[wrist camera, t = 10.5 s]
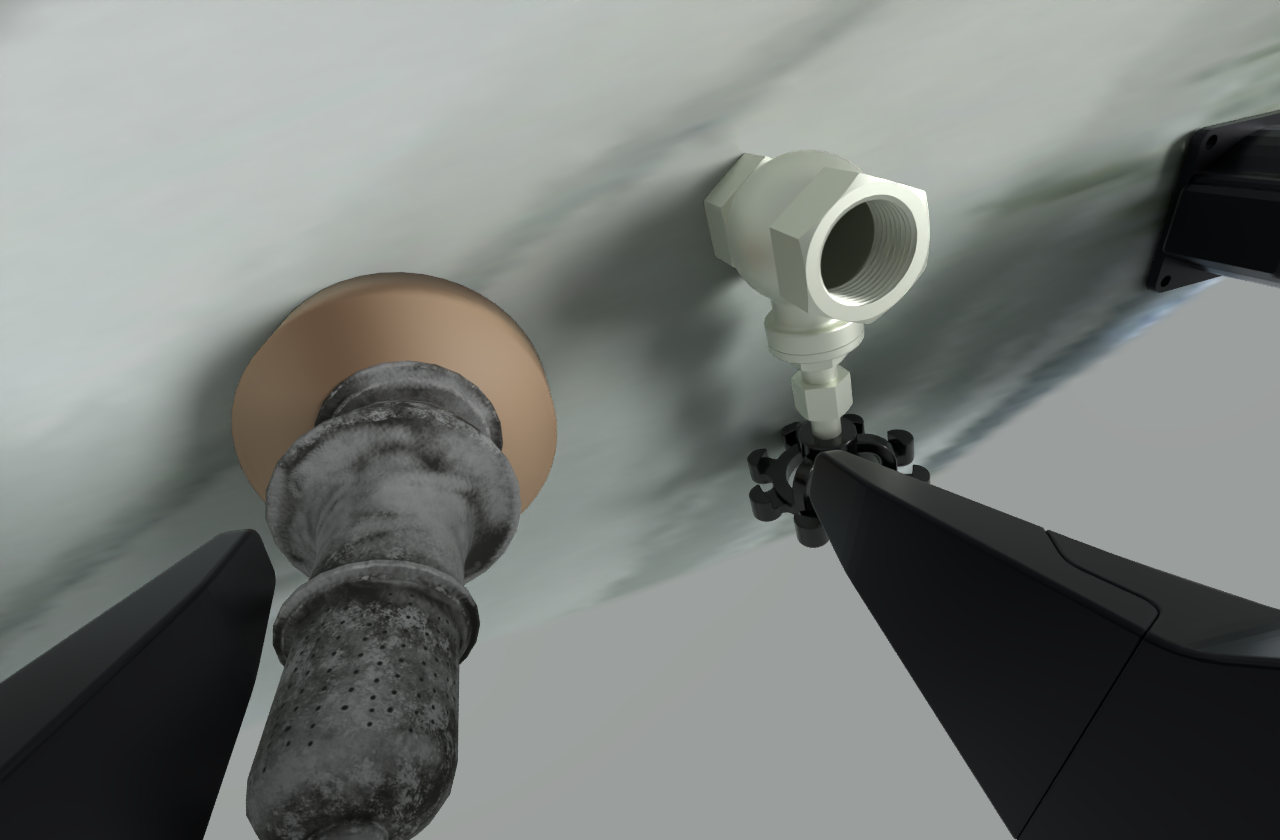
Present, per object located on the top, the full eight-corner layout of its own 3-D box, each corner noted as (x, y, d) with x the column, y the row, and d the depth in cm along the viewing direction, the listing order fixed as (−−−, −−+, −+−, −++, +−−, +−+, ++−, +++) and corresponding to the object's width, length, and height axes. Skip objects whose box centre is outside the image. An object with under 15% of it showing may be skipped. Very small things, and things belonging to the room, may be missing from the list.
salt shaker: (289, 346, 15) (-89, 849, 5) (516, 354, 17) (592, 739, 7) (314, 524, 18) (103, 1096, 7) (509, 516, 19) (554, 970, 9)
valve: (646, 180, 18) (721, 469, 24) (725, 215, 12) (797, 579, 19) (835, 112, 18) (861, 413, 25) (994, 115, 13) (975, 503, 19)
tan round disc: (509, 243, 18) (515, 261, 15) (572, 475, 22) (582, 513, 20) (199, 310, 16) (159, 341, 14) (334, 542, 21) (318, 591, 19)
